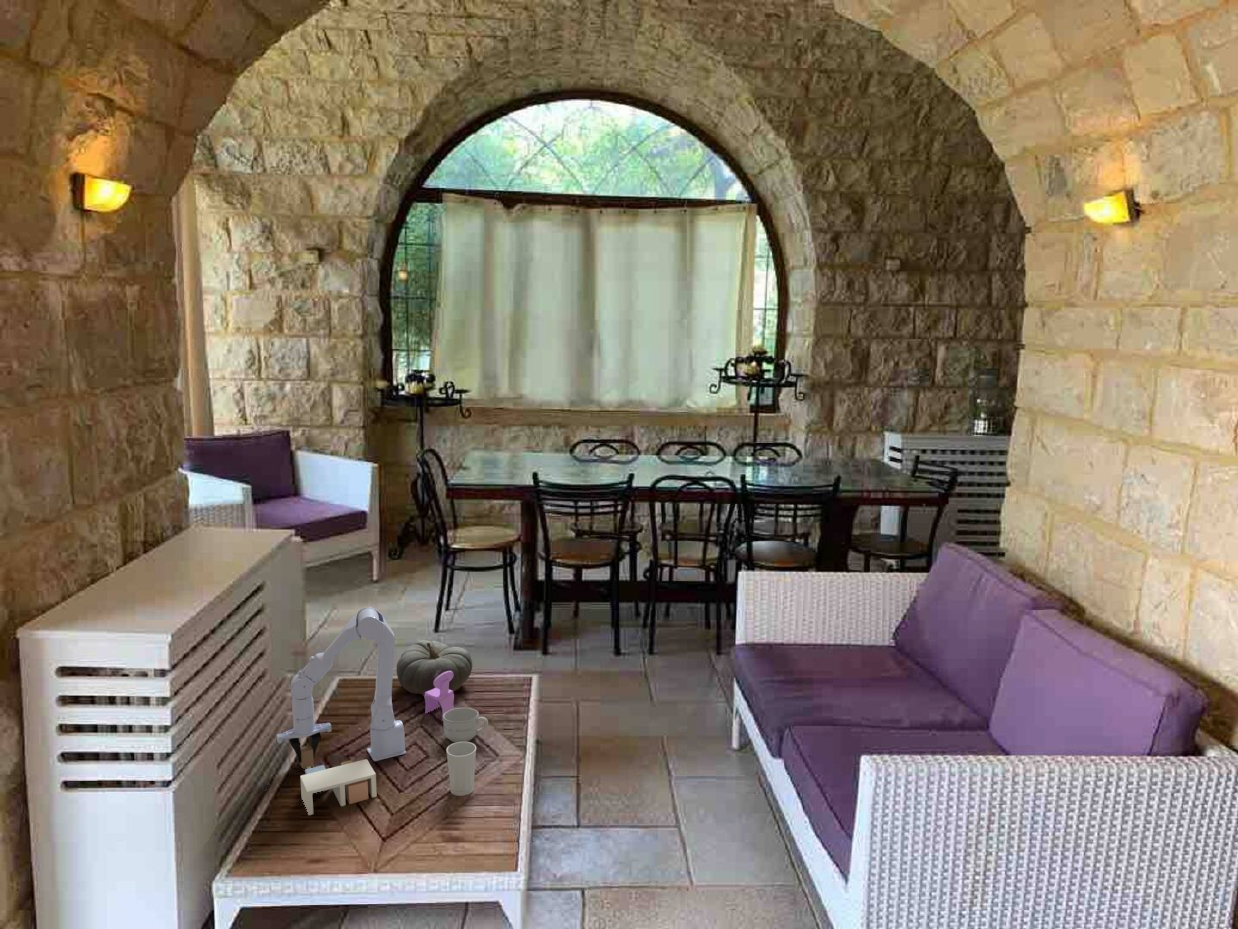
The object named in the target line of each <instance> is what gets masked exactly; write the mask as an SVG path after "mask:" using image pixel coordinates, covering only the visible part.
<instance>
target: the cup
mask: <svg viewBox="0 0 1238 929" xmlns="http://www.w3.org/2000/svg"><path fill="white" fill-rule="evenodd" d="M445 751H446V759H447V766H448V767H447V768H448V777H449V778H448V779H449V785H450V791H449V792H450V793H451V795H453V796H456V797H457V796H459V797H463V796H467V795H470V794H472V792H474V790H475V772H476V771H475V770H476V759H477V758H476V757H477V746H476V744H475V743H473V742H470V741H468V742H457V743H456V742H453V743H451V744H449V745H448V746H447V747H446V749H445Z"/></svg>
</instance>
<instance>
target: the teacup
mask: <svg viewBox="0 0 1238 929" xmlns="http://www.w3.org/2000/svg"><path fill="white" fill-rule="evenodd" d="M454 708H455V707H454ZM479 714H480V713H479V711H478V710H476V709H475V708H472V707H471V708H470V707H456V708H455V709H451V710H449V711H447V712H445V713H444V714H443V713H442V715H443V722H442V724H443V725H442V726H443V733H444V736H445V737H446V738H447V739H448V740H450V741H451V742H453V743H457V742H470V741H471V740H472V739H473V738H475V737H476V736H478V735H479V734H480V733H482V732H484V731H485V730H486V729H487V728H488V727H489V720H488V719H487V718H486V717H485V716H479ZM480 721H482V722H484V726H483V727H481V728H479V724H480Z"/></svg>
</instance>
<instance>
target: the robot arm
mask: <svg viewBox="0 0 1238 929" xmlns="http://www.w3.org/2000/svg"><path fill="white" fill-rule="evenodd" d="M362 637H363V638H365V639H366V640H370V641H373V642H374V643H375V644H376V645H377V656H376V657H377V659H376V660H377V661H376V678H375V692H374V697H373V701H372V703H371V704H370V712H371V713H370V714H371V722H370V723H369V733H370V747H367V748H366V751H367V752H368V754H369V756H370V758H371V759H372V761H373V762H378V761H382V760H385V759H389V758H393V757H399V756H401V755H405V754H407V751H406V740H405V739H406V738H405V737H406V736H405V727H404V724H403V722H402V720H399V719H398V720H396V719H395V715H394V711H393V702H392V693H393V692H392V691H393V677H394V676H393V674H394V659H395V642H396V641H395V640H396V638H395V632H394V631H393V629H391V627H390V625H389V623H388V621H387V620H386V619H385V617H384V614H383V613H382V612H380V611H379V610H377V609H376V608H374V607H373V606H365V607H363V608H360V610H359V611H358V612H357V614H355V615H353V617H351V618H350V620H349V621H348V622H347V624H346V625H345V626H344V627H343V628H342V629H341V631H340V632H339V633H338V634H337V636H335V638H334V639H333V641H331V643H330V644H329V645H328V647H327V648H326V649H325V650H324V652H318V653H316V654H315V655H314V656H313V655H311V656H310V657H309V660H308V661H309V662H307V664H306V665H305V666H304V668H302V669H299V671H297V673H296V674H294V676H293V677H292V679H291V681H290V694H291V700H292V701H291V708H292V709H291V710H292V711H291V712H292V722H293V723H292V726H293V728H292V729H289V730H286V731H284V732H281V733H278V734H276V741H277V743H278V745H279V744H282V743H283V742H287V741H289V744H290V745H291V747H292V748H293V750H294V752H295V756H296V759H297V763H299V764H301V754H300V748H301V742H300V739H299V738H307V737H309V745H311V747H312V749H313V759H314V760H315V757H316V752H317V749H318V746H319V743H320V742H321V740H322V735H321V734H322V733H325V732H327V733H330V732H332V724H331V723H330V722H326V723H315V708H314V707H315V705H314V698H313V691H314V687H315V685H317V684H318V683H319V682H320V681H321V680H322V679H323V677H324V676H325V675H326V674H328V672H329V671H330V670H331V669H332V668H333V660H334V659H335V658H336V657H337V656H338V655H339V654H340V653H341V652H342V651H343V650H344V649H345V648H346V647H347V646H348V645H349V644H350V642H353V641H361V640H362Z"/></svg>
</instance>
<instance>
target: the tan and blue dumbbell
mask: <svg viewBox="0 0 1238 929" xmlns="http://www.w3.org/2000/svg"><path fill="white" fill-rule="evenodd" d="M300 754H301V763H300V766H301V769H302V768H303V769H305V770H304V773H305V774H309V773H313V772H317V771H321V770H325V769H327V768H326V766H325V765H324V764H322V765H317V766H315V765H314V764H315V763H314V760H315V759H313V749H312V747H311V745H310V744H309V745H306V746H300ZM311 767H313V768H311ZM306 768H307V769H306ZM303 769H302V770H303ZM305 774H304V775H305ZM329 790H330V789H328V790H324V791H323V792H326V791H329ZM320 793H322V792H321V791H320ZM316 794H318V793H317V792H316Z"/></svg>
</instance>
